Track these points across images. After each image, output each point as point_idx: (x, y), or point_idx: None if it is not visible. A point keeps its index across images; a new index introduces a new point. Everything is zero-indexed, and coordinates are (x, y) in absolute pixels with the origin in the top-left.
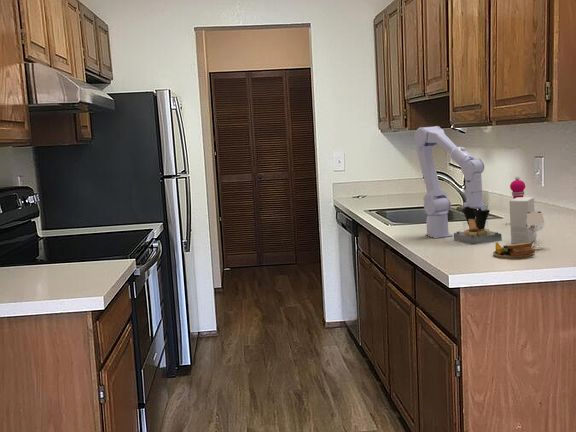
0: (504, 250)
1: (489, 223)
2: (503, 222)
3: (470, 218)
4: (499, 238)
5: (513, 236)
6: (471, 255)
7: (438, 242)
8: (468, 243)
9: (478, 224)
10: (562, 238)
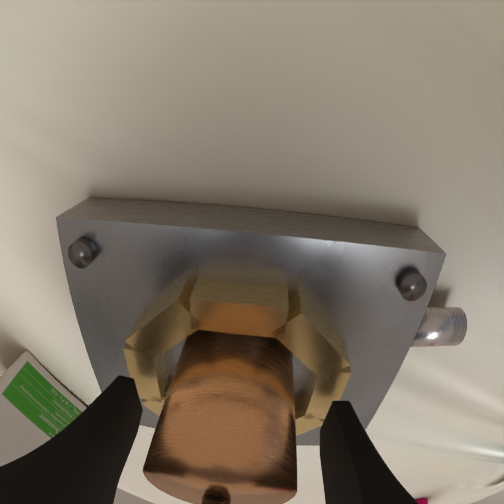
0: None
1: (490, 465)
2: (459, 487)
3: (290, 486)
4: None
5: (3, 375)
6: None
7: (401, 43)
8: (132, 200)
9: (91, 405)
10: None
